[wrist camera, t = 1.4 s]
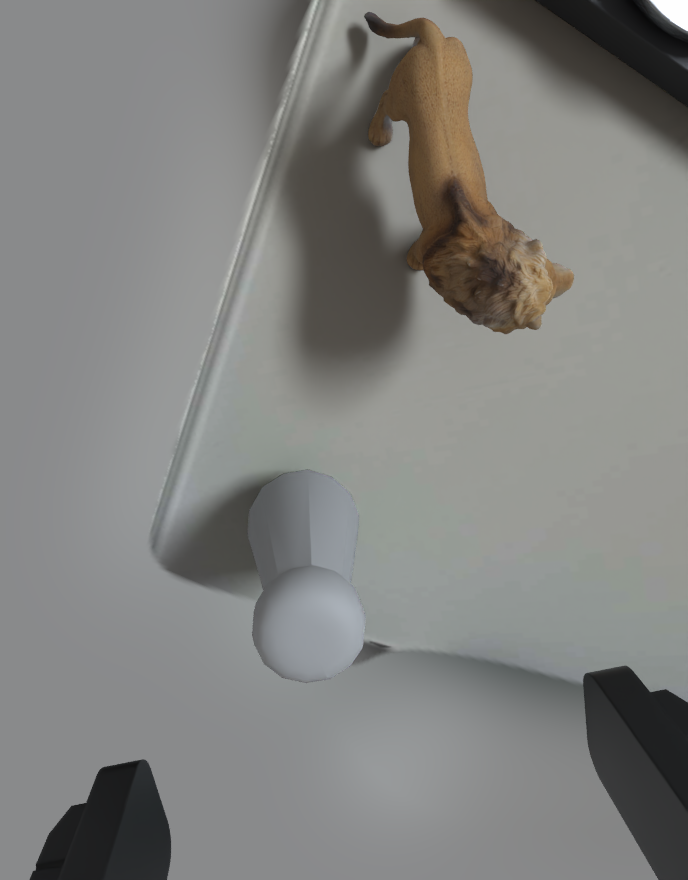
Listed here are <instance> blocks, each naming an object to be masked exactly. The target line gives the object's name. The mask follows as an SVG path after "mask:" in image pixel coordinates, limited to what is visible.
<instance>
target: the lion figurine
mask: <svg viewBox="0 0 688 880" xmlns="http://www.w3.org/2000/svg"><path fill="white" fill-rule="evenodd" d="M364 17H365V19H366V21H367V22H368V25H369V28H370V29H371V30H372V32H374V33H376V34H377V35H379V36H383V37H386V38H409V37H415V40H414V44H413V47H412V48H411V49H410V50H409V51H408V53H407V54H406V55H405V56H404V58H403V59H402V60H401V62H400V63H399V64H398V66H397V67H396V69H395V71H394V73H393V75H392V77H391V81H390V84H389V89H388V90H386V91H385V92H384V93H383V95H382V97H381V100H380V102H379V106H378V109H377V112H376V114H375V115H374V117H373V119H372V121H371V124H370V127H369V131H368V137H369V141H370V142H371V143H372V144H373V145H375V146H383V145H386V144H388V143H390V141H391V139H392V135H393V128H392V120H393V121H400V120H403V121H406V122H407V124H408V127H409V136H410V141H409V162H408V164H409V176H410V182H411V187H412V192H413V198H414V204H415V208H416V212H417V215H418V218H419V221H420V223H421V225H422V227H423V231H422V233H421V235H420V237H419V239H418V240H417V241H416V242H414V243H413V245H412V246H411V248H410V250H409V252H408V255H407V263H408V265H409V266H410V267H412V268H413V269H415V270H424V272H425V274H426V276H427V277H428V279H429V285H430V286H431V287H432V288H433V289H434V290H435V291H436V292H437V293H438V294H439V295H441V296H442V297H443V298H444V301H445V302H446V303H447V304H449V305H450V306H451V307H453V308H455V310H456V311H457V312H458V313H459V314H461V315H466V316H467V317H468V318H469V319H470V320H471V321H472V322H473V323H475V324H478V325H484V326H485V327H488V328H490V329H492V330H493V331H494V332H502V333H504V334H508V333H510V332H512V331H513V330H515V329H525V328H526V327H528V328H530V329H534V330H537V329H539V328H540V327H541V315H542V314H543V313H544V312H545V310H546V305H547V304H549V303H550V302H551V300H552V298H556V297H558V296H560V295H561V294H563V293H564V292H565V291H567V290H568V289H570V288H571V286H572V284H573V280H574V274H573V272H572V271H571V270H570V269H567V268H565V267H563V266H562V265H560V264H557V263H551V262H550V261H549V260H548V259H547V256H546V254H545V252H544V251H543V246H542V243H541V241H540V240H537V239H536V240H532V239H530V238H529V237H528V236H526V235H525V233H524V232H523V231H520V230H518V229H514V227H513V225H512V224H511V223H509V222H508V221H506V220H504V219H503V218H502V217H500V216H499V215H498V214H497V212H496V211H495V209H494V207H493V206H492V204H491V203H490V202H488V200H487V194H486V184H485V177H484V172H483V168H482V164H481V160H480V157H479V153H478V150H477V148H476V145H475V142H474V139H473V136H472V133H471V130H470V126H469V121H468V103H469V97H470V91H471V86H472V69H471V65H470V62H469V59H468V56H467V54H466V51H465V48H464V46H463V44H462V42H461V41H459V40H458V39H457V38H454V37H448V38H445V37H444V36H443V34H442V33H441V31H440V29H439V28H438V27H437V25H436V24H434V23H433V22H432V21H430V20H428V19H426V18H417V19H413V20H411V21H408V22H405V23H403V24H399V25H395V24H389V23H386V22H384V21H383V20H382V19H380V18H379V17H378V16H377V15H376V14H374V13H372V12H368V13H366V14H365V16H364Z"/></svg>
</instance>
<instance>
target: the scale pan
mask: <svg viewBox="0 0 688 880" xmlns="http://www.w3.org/2000/svg"><path fill="white" fill-rule="evenodd" d="M634 1H635V3H636V4H637V6H638V7H639V8H640V9H641V10H642V12H643V13H644V14H645V15H646V16H647V17H648V18H649V19H650V20H651V21H652V22H653V23H654V24H656V25H657V26H658V27H659V28H660V29H662V30H664V31H665V32H667V33H668V34H670V35H672V36H673V37H675V38H678V39H680V40H683V41H685V42H687V43H688V0H634Z"/></svg>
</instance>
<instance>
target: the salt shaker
mask: <svg viewBox="0 0 688 880" xmlns="http://www.w3.org/2000/svg"><path fill="white" fill-rule="evenodd" d="M358 526H359V514H358V511H357V509H356V506H355V503H354V501H353V498H352V496H351V494H350V492H349V491H348V490H347V489H345V488H344V487H343V486H342V485H341V484H340V483H338V482H337V481H336V480H335V479H334V478H333V477H331V476H328V475H325V474H321V473H318V472H315V471H311V470H302V471H296V472H290V473H284V474H282V475H281V476H279V477H277V478H276V479H274V480H273V481H271V482H269V483H268V484H266V485H265V486H263V487H262V489H261V490H260V492H259V494H258V496H257V497H256V499H255V501H254V503H253V505H252V506H251V508H250V510H249V520H248V533H247V534H248V537H249V541H250V544H251V548H252V551H253V555H254V558H255V562H256V565H257V569H258V572H259V576H260V579H261V583H262V586H263V590H264V591H263V592H262V594H261V596H260V597H259V599H258V601H257V602H256V605H255V609H254V617H253V632H252V636H253V641H254V645H255V647H256V649H257V651H258V653H259V655H260V657H261V659H262V661H263V663H264V664H265V665H266V666H267V667H269V668H270V669H272V670H273V671H274V672H276V673H277V674H278V675H279V676H281V677H282V678H285V679H290V680H295V681H299V682H304V683H308V682H314V681H321V680H327V679H331V678H332V677H334V676H336V675H337V674H339V673H340V672H342V671H343V670H345V669H347V668H348V667H350V665H351V664H352V663H353V661H354V660H355V658H356V657H357V655H358V654H359V652H360V651H361V650H362V648H363V640H364V630H365V619H366V615H365V612H364V608H363V606H362V603H361V601H360V598H359V596H358V593H357V591H356V588H355V587H354V586H353V585H352V584H351V578H352V571H353V564H354V557H355V551H356V544H357V536H358Z"/></svg>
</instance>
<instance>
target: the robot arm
mask: <svg viewBox="0 0 688 880" xmlns="http://www.w3.org/2000/svg"><path fill="white" fill-rule="evenodd" d="M583 686H584V698H585V713H586V725H587V740H588V747H589V751H590V755H591V758H592V761H593V764H594V767H595V769H596V772H597V774H598V776H599V778H600V780H601V782H602V784H603V785H604V787H605V789H606V790H607V792H608V794H609V796H610V797H611V799H612V801H613V802H614V804H615V806H616V808H617V809H618V811H619V813H620V814H621V816H622V818H623V820H624V821H625V823H626V825H627V826H628V828H629V830H630V831H631V833H632V835H633V836H634V838H635V840H636V842H637V844H638V845H639V847H640V849H641V850H642V852H643V854H644V856H645V857H646V859H647V861H648V862H649V864H650V866H651V867H652V869H653V871H654V873H655V874H656V876H657V878H658V879H659V880H688V703H687V702H686V701H684V700H683V699H681V698H679V697H678V696H676V695H674V694H673V693H671V692H669V691H668V690H666V689H665V690H660V691H655V692H650V691H649V690H648V689H647V688H646V687H645V685H644V684H643V683H642V682H641V680H640V679H639V678H638V677H637V675H636V674H635V673H634V672H633V671H632V670H631V669H630V668H629V667H628V666H621V667H615V668H610V669H605V670H600V671H595V672H590V673H586V674H585V675H584V679H583ZM170 859H171V837H170V829H169V824H168V821H167V818H166V815H165V812H164V809H163V805H162V802H161V800H160V796H159V793H158V790H157V787H156V784H155V781H154V777H153V775H152V771H151V768H150V766H149V764H148V763H147V761H146V760H138V761H133V762H128V763H122V764H117V765H113V766H107V767H103V768H101V769H100V770H99V772H98V774H97V776H96V779H95V782H94V784H93V787H92V789H91V792H90V795H89V797H88V800H87V803H84V804H79V805H74V806H71V807H70V809H69V810H68V811H67V812H66V814H65V815H64V816H63V817H62V819H61V820H60V821H59V822H58V823H57V825H56V826H55V827H54V829H53V830H52V831H51V832H50V833H49V835H48V837H47V840H46V842H45V845H44V847H43V849H42V852H41V854H40V856H39V859H38V861H37V863H36V871H33V873H32V875H31V878H30V880H167V876H168V871H169V866H170Z"/></svg>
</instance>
